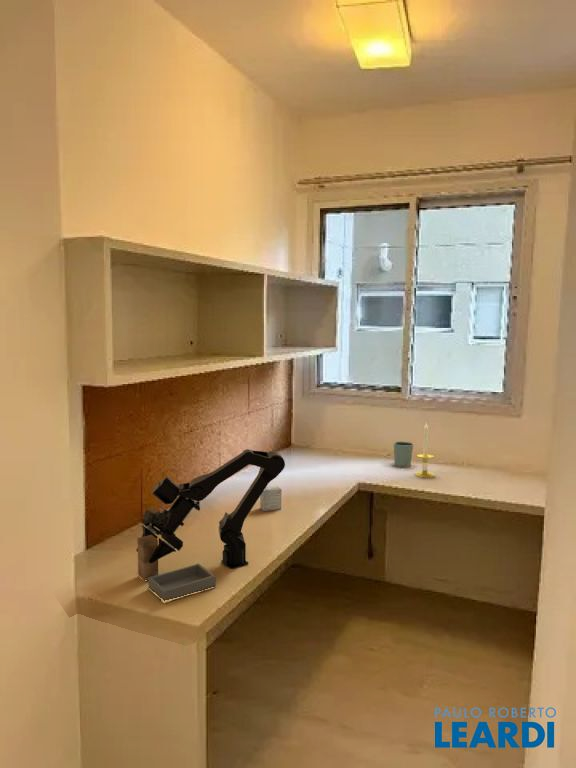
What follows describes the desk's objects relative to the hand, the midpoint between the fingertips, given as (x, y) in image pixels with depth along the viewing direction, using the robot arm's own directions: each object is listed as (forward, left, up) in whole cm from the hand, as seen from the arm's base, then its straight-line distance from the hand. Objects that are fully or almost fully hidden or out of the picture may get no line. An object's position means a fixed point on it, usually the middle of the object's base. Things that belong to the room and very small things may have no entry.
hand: (143, 556), depth 168 cm
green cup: (-163, -45, -7) cm, 170 cm away
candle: (-158, -26, -7) cm, 161 cm away
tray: (-6, +13, -7) cm, 16 cm away
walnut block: (-1, 0, -7) cm, 7 cm away
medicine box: (-66, -29, -7) cm, 73 cm away
